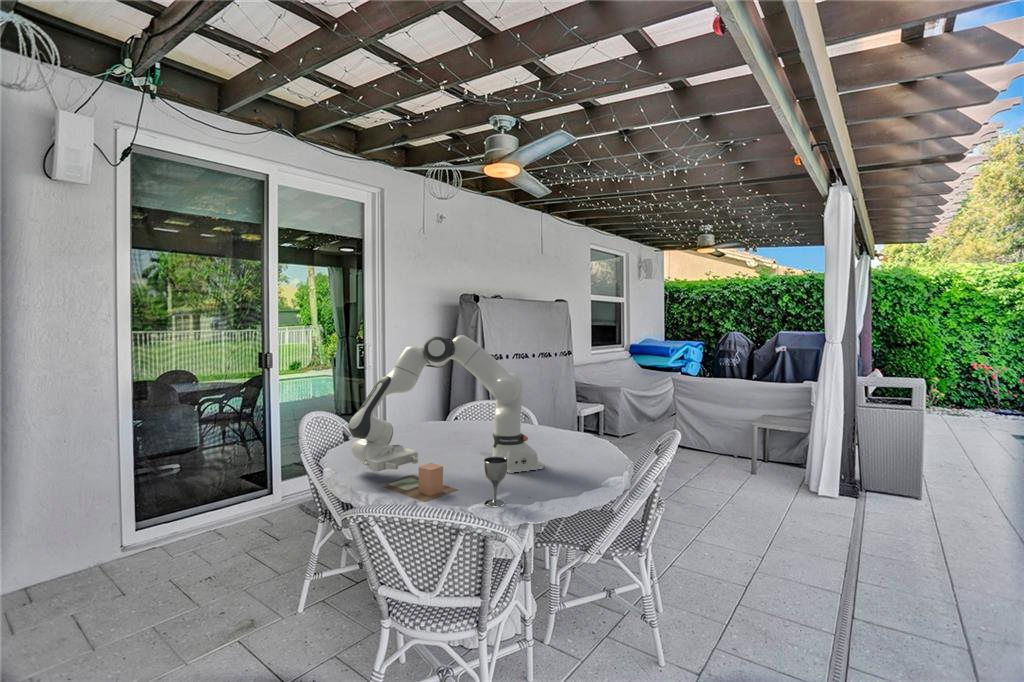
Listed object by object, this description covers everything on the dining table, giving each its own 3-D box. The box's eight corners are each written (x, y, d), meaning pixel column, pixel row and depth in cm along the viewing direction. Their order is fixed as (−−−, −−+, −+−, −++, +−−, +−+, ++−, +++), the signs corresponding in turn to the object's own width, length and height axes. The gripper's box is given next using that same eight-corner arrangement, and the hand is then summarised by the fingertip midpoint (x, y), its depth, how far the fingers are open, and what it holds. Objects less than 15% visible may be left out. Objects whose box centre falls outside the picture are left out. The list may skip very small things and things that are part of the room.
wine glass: (507, 507, 171) (508, 463, 170) (483, 508, 170) (484, 463, 170) (506, 499, 179) (506, 456, 178) (483, 499, 178) (483, 456, 178)
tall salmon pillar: (431, 487, 186) (431, 463, 186) (442, 491, 183) (443, 466, 182) (418, 491, 182) (418, 466, 181) (430, 495, 178) (430, 470, 177)
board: (458, 492, 185) (458, 489, 185) (425, 504, 172) (425, 501, 172) (413, 478, 199) (413, 475, 199) (380, 488, 187) (380, 485, 187)
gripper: (360, 453, 189) (383, 461, 181) (403, 443, 205) (427, 450, 197) (359, 470, 190) (383, 479, 181) (403, 459, 206) (427, 466, 197)
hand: (406, 464), depth 189 cm, fingers open, 8 cm apart
